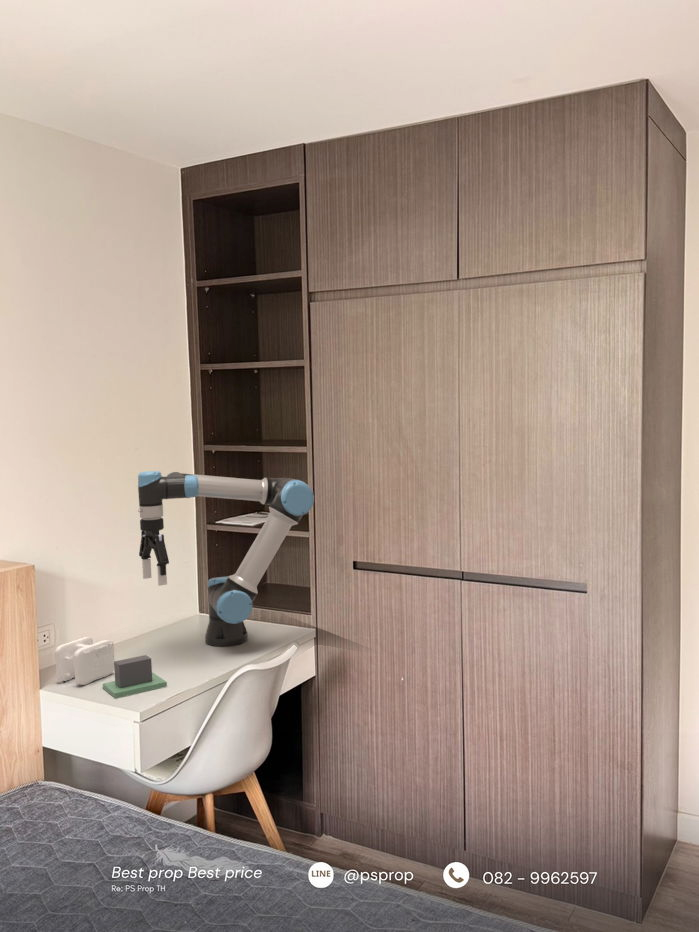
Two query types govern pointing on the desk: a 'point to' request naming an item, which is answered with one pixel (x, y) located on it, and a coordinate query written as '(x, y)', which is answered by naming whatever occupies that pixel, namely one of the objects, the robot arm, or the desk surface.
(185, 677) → the desk surface
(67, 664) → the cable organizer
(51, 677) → the desk surface
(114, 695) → the board
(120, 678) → the block
